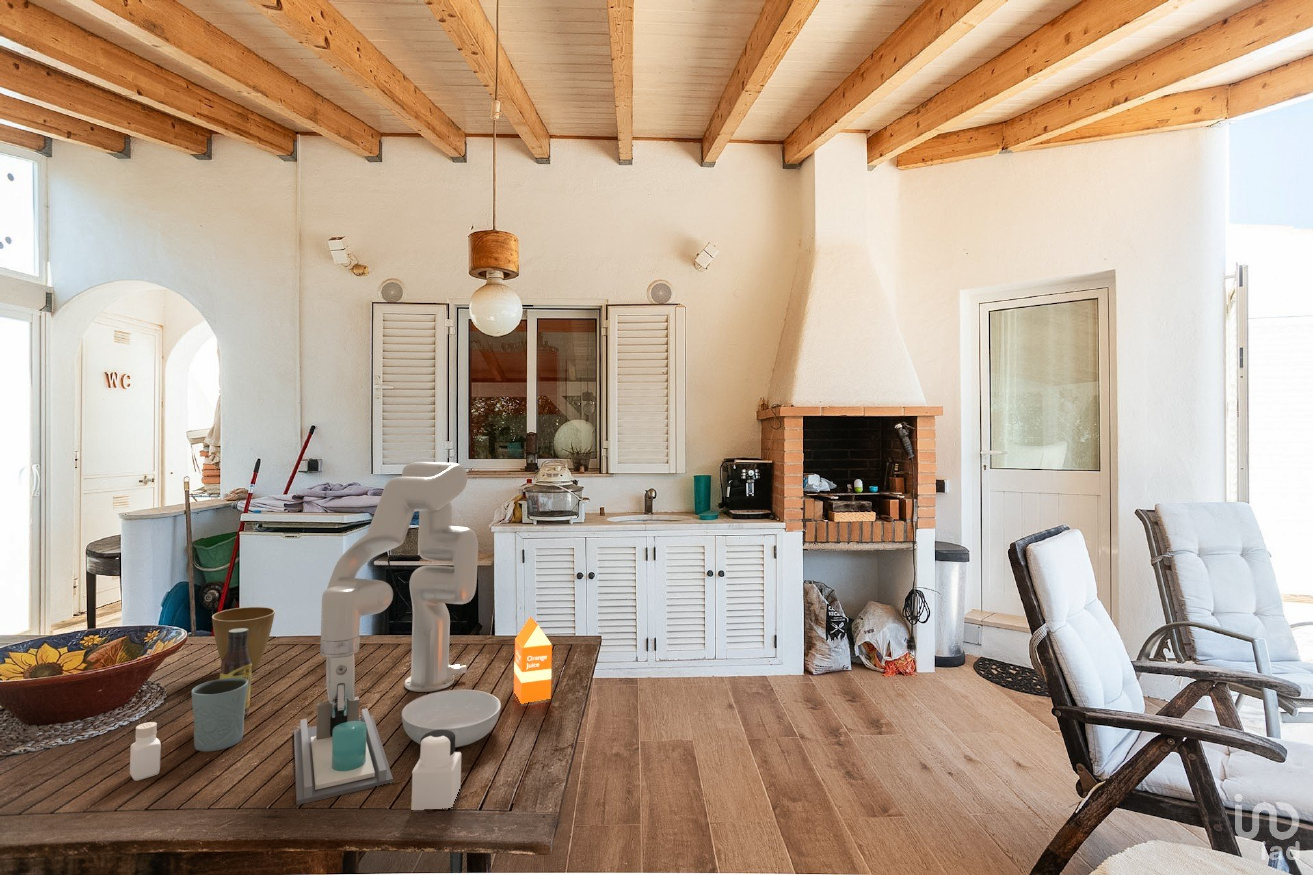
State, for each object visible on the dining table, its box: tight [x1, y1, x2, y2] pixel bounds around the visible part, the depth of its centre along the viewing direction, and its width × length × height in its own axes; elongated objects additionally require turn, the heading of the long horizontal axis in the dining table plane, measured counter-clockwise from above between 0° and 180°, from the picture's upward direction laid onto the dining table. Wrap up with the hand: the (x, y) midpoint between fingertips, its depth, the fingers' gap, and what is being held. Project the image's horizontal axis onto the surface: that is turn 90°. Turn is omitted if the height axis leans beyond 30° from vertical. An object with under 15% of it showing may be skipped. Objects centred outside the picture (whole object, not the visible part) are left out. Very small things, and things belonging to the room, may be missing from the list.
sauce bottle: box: [219, 628, 253, 716], centre depth 150 cm, size 7×6×20 cm
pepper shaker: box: [129, 721, 162, 782], centre depth 122 cm, size 4×4×10 cm
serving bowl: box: [401, 689, 502, 748], centre depth 141 cm, size 21×21×7 cm
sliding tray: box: [311, 696, 375, 790], centre depth 129 cm, size 10×22×8 cm, turn 30°
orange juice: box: [513, 616, 553, 704], centre depth 164 cm, size 8×9×20 cm
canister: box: [332, 721, 367, 771], centre depth 125 cm, size 6×6×7 cm
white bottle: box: [410, 729, 462, 811], centre depth 116 cm, size 7×7×12 cm
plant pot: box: [211, 606, 276, 672], centre depth 179 cm, size 15×15×16 cm
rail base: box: [293, 707, 394, 806], centre depth 131 cm, size 16×32×3 cm, turn 30°
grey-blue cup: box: [191, 678, 248, 752], centre depth 137 cm, size 10×10×12 cm
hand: (337, 729), depth 137 cm, fingers open, 3 cm apart
